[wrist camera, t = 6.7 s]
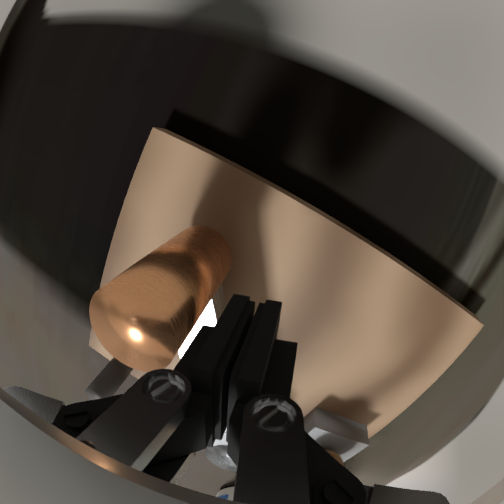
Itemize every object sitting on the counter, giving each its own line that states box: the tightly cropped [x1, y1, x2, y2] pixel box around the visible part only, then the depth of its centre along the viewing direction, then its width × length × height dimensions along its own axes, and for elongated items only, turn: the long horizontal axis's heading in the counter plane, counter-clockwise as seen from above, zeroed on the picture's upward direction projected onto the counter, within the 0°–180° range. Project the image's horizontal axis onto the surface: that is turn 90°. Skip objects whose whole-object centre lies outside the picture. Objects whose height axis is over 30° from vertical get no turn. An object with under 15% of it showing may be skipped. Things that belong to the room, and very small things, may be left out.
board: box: [86, 127, 484, 466], centre depth 16 cm, size 24×18×7 cm
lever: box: [89, 226, 237, 472], centre depth 14 cm, size 18×4×7 cm, turn 7°
